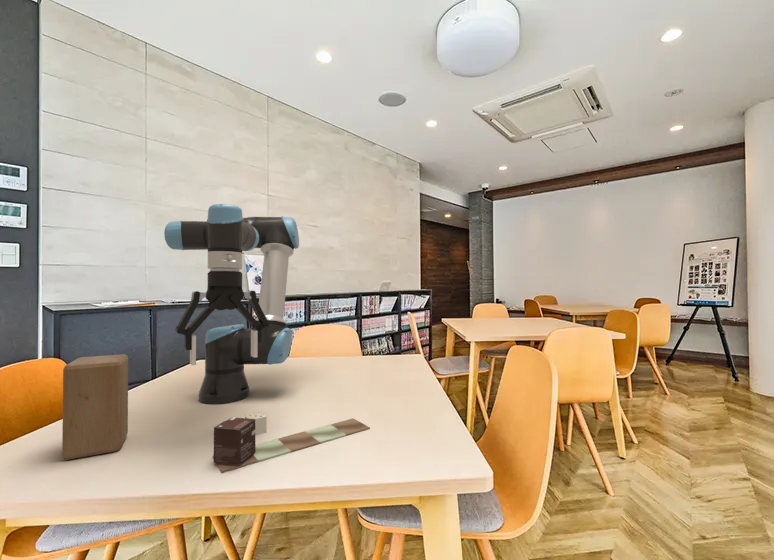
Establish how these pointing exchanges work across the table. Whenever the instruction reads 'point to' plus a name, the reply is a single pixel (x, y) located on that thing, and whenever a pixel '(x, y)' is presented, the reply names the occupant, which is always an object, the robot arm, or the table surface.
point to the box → (234, 441)
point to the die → (258, 422)
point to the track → (299, 442)
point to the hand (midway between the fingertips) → (225, 360)
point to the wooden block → (94, 405)
